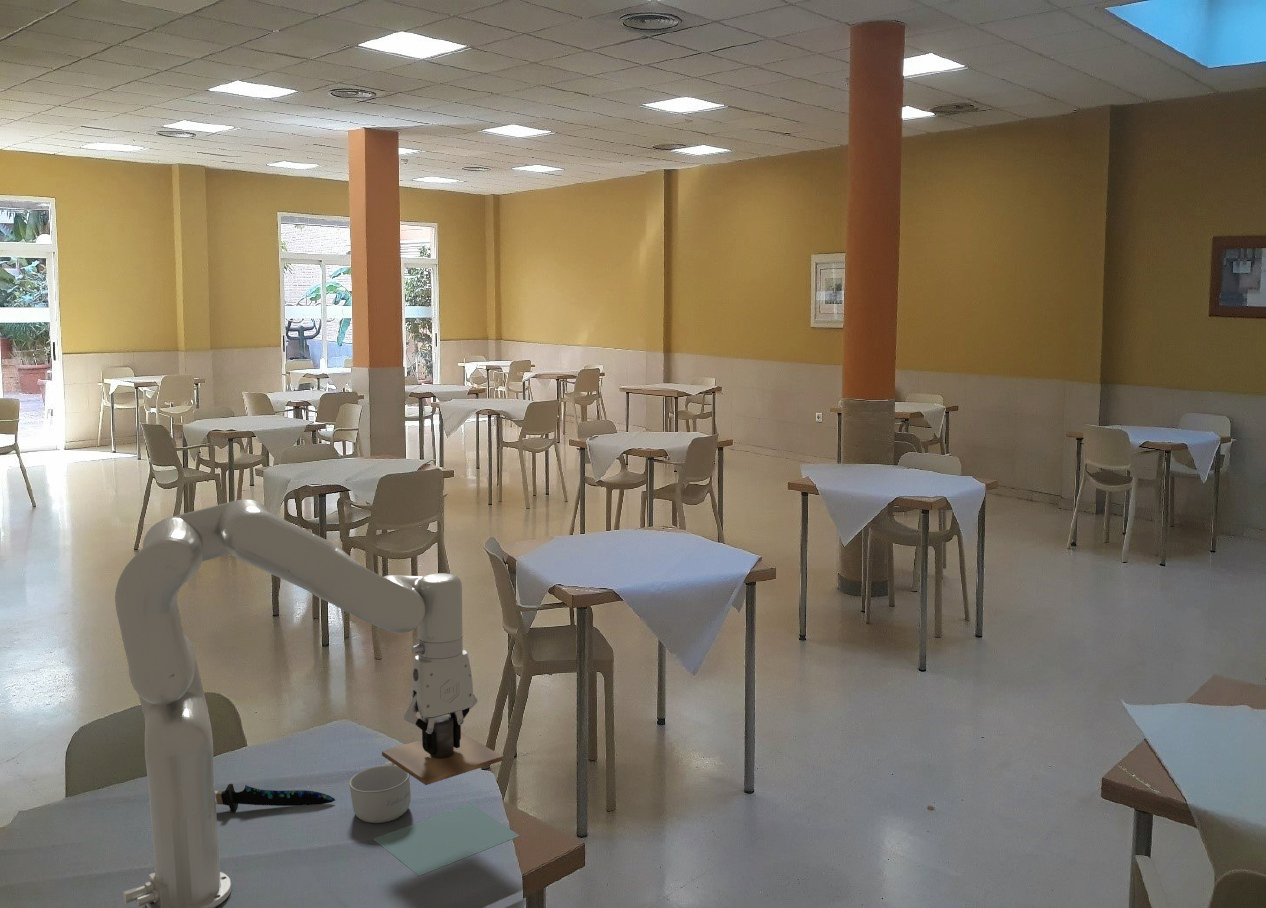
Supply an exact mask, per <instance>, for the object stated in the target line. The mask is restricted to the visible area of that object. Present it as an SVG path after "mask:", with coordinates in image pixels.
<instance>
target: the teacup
mask: <svg viewBox="0 0 1266 908" xmlns="http://www.w3.org/2000/svg"><path fill="white" fill-rule="evenodd" d="M410 776H411V775H410V774H408V773H407V772H405V771H404V770H403V769H401V768H400V767H398V766H397V765H395V764H394V763H392V762H391V761H389V760H388V761H386V762H385V763H384V764H383V765H377V766H373V767H368V768H366V769H363V770H360V771H359V772H358V773H356V774H354V775H353V776H351V778H350V779H349V782H348V786H349V788H350V790H349V791H350V796H351V805H352V809H353V812H354V815H355V816H356V817H357V818H358V819H359V820H361V821H363V822H366V823H368V824H369V823H370V824H381V823H382V824H383V823H388V822H392V821H394V820H397V819H398V818H400V817H401V816H403V815H404V813H406V812H407V810H408V809H409V807H410V804H411V795H412V794H411V793H412V792H411V782H410V781H411V780H410Z"/></svg>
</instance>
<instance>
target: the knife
mask: <svg viewBox="0 0 1266 908" xmlns="http://www.w3.org/2000/svg"><path fill="white" fill-rule="evenodd" d="M215 800H216V805H224V806H228V807H229V810H230V812H231V813H236V810H237V809H238V807H239V805H248V806H249V805H250V806H269V807H270V806H274V807H275V806H277V807H280V806H281V807H285V806H286V807H289V806H290V807H292V806H293V807H297V806H300V807H301V806H315V805H317V806H318V805H324V804H330V803H333V802H335V801H336V799H335V798H334V797H333V796H331V795H329V794H325V793H323V792H319V791H314V790H305V789H304V790H303V789H302V790H301V789H300V790H299V789H298V790H297V789H295V790H293V789H292V790H289V789H288V790H275V789H273V790H272V789H270V790H269V789H260V788H256V787H251V786H249V785H247V784H246V785H244V788H243V790H241V791H235V787H234V784H233V783H229V784H228V785H227V786H226V788H225V790H223V791H221V790H215Z"/></svg>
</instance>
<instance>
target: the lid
mask: <svg viewBox="0 0 1266 908" xmlns="http://www.w3.org/2000/svg"><path fill="white" fill-rule="evenodd" d="M433 732H435V733H436V754H435V755H431V754H429V753H427V752H426V751H425V750H424V749H423V746H422V739H419V740H416V741H413V742H408V743H406V744H405V743H404V744H402V745H399V746H394V747H392V748H387V749H385V750H382V751H381V756H382V757H383V758H385V759H387V760H388V761H391V762H392V763H394V765H395V766H398V767H400V768H401V769H403V770H404V771H405V772H407V773H408V774H410V776H411V777H413V778H414V779H416V780H417V781H418V782H420V783H421V784H423V785H424V786H428V785H431V784H434V783H438V782H440V781H443V780H447V779H450V778H452V777H456V776H458V775H462V774H466V773H467V772H468V773H469V772H472V771H475V770H478V769H481V768H484V767H487V766H490V765H494V764H497V763H500V762H503V757H504V756H503V755H501V754H499V753H497V752H496V751H495V750H493V749H491V748H489V747H488V746H486V745H484V744H482V743H480V742H479V741H477V740H475V739H473V738H472V737H470V736H468V735H467V734H464V732H461V740H460V747H459V748H455V747H454V739H453V718H451V717H449V715H448V716H446V715H443V716H439V717H435V721H434V728H433Z"/></svg>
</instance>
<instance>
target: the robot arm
mask: <svg viewBox="0 0 1266 908" xmlns="http://www.w3.org/2000/svg"><path fill="white" fill-rule="evenodd" d="M228 555H231V556H232V557H234V558H236V559H237V560H239V561H241V562H243V563H246V564H248V565H251V566H252V567H255V568H257V569H259V570H261V571H264V572H266V573H268V574H271V575H272V576H275V577H278V578H279V579H282V580H284V581H286V582H288V583H290V584H293V585H295V586H297V587H298V588H300V589H303V590H304V591H305V590H306V591H307V592H309V593H310V594H312V595H314V596H316V597H317V598H319V599H320V600H323V601H325V602H327V603H329V604H331V605H333V606H335V607H337V608H338V609H340V610H342V611H344V612H346V613H348V614H349V615H352V616H354V617H356V618H357V619H360V620H362V621H364V622H366V623H369V624H372V625H373V626H375V627H377V628H380V629H382V630H385V631H387V632H389V633H392V634H405V633H406V634H407V633H410V632H412V631H414V630H415V629H417V639H416V644H415V645H411V653H412V654H413V655H415V656H414V661H413V666H412V672H411V679H410V680H411V683H410V704H409V706H408V708H407V710H406V711H405V713H404V715H403V720H405V721H406V722H407V723H410V724H412V725H414V726H417V728H418V729H419V730H421V740H422V746H423V749H424V750H425V751H426V752H427V753H429V754H431V755H435V754H436V733H435V732H433V728H434V721H435V717H439V716H446V715H448V717H451V718H453V739H454V747H455V748H459V747H460V740H461V733H462V732H461V731H462V729H461V728H462V725H463V724H464V722H465V718H466V717H467V715H468V714H469V712H470V710H471V709H473V708H474V707H475V706H476V705H477V703H478V699H477V697H476V696H475V695H474V686H473V685H474V684H473V676H472V675H473V674H472V668H471V662H470V659H469V655H468V652H467V651H466V650H465V649H464V646H463V645H464V644H463V643H464V641H463V640H464V639H463V637H464V635H463V586H462V581H461V578H460V577H458V576H457V575H455V574H452V573H446V572H445V573H444V572H443V573H441V572H439V573H431V574H427V575H419V576H418V575H404V574H403V575H401V574H387V575H384V576H382V575H380V574H378V573H377V572H374V571H372V570H370V569H369V568H367V567H365V566H364V565H362V564H361V563H359V562H358V561H357V560H355V559H354V558H352V557H351V556H350V555H349V554H348V553H347V552H345V551H344V550H343V549H342V548H340V547H339V546H338V545H336V544H335V543H333V542H332V541H330V540H328V539H325V538H323V537H321V536H319V535H317V534H315V533H313V532H310V531H308V530H306V529H304V528H302V527H300V526H298V525H295V524H294V523H291V522H290V521H288V520H286V519H284V518H281V517H279V516H277V515H275V514H273V513H271V512H270V511H269V509H268V508H267V507H266V505H264V504H263V503H261V502H260V501H258V500H255V499H254V500H253V499H248V498H247V499H235V500H232V501H228V502H225V503H220V504H217V505H214V506H213V505H212V506H209V507H205V508H202V509H198V510H194V511H193V510H192V511H189V512H185V513H181V514H177V515H173V516H170V517H167V518H164V519H161V520H160V521H158V522H156V523H154V525H153V526H151V527H150V528H149V530H147V531H146V535H145V536H144V538H143V542H142V549H140V550H139V551H138V553H137V554H135V556H133V557H132V558H131V560H130V561H129V562H128V563H126V566H125V567H124V568H123V570H122V572H121V574H120V576H119V578H118V580H117V583H116V586H115V592H114V593H115V595H114V602H115V610H116V617H117V620H118V626H119V629H120V630H119V631H120V634H121V640H122V644H123V649H124V652H125V657H126V660H127V666H128V673H129V674H128V675H129V679H130V684H131V685H132V687H133V690H134V691H135V692H136V693H137V695H138V698H139V701H140V705H141V709H142V710H141V711H142V713H143V717H144V722H145V723H144V724H145V727H144V756H145V757H144V759H145V768H146V777H147V786H148V787H147V788H148V789H147V790H148V801H149V812H150V824H151V825H150V826H151V836H152V837H151V838H152V839H151V840H152V849H153V850H152V853H153V854H152V855H153V865H154V872H152V873H149V874H148V877H149V878H148V879H149V880H148V881H146V882H143V885H141V886H138V887H133V888H131V889H128V890H125V891H123V892H122V900H123V903H124V904H125V905H128V904H131V903H134V902H135V903H136V906H137V907H139V908H140V907H142V906H144V905H146V908H216V907H218V906H219V905H221V904H223V902H224V901H225V900H227V898H228V897H229V896H230V894H231V892H232V880H231V878H230V877H229V875H228V874H225V873H224V872H223V871H221V866H220V849H219V835H218V834H219V833H218V820H217V817H218V816H217V815H218V814H217V804H216V800H215V791H216V790H215V789H216V788H215V787H216V786H215V772H214V769H215V768H214V767H215V766H214V741H213V740H214V739H213V732H212V731H213V730H212V724H211V719H210V714H209V707H208V704H207V700H206V694H205V690H204V686H203V683H202V679H201V675H200V670H199V666H198V661H197V658H196V655H195V650H194V646H193V644H192V642H191V640H190V639H189V638H188V636H187V635H186V634H185V633H184V629H183V623H182V618H181V613H180V610H179V605H178V594H179V592H180V590H181V588H182V587H184V585H185V584H186V583H187V582H189V581H190V580H191V579H192V578H193V577H194V576H195V575H196V574H197V573H198V571H199V569H200V567H201V565H202V564H203V562H206V561H210V560H213V559H216V558H220V557H224V556H228ZM417 713H419V715H420V717H418V716H417Z"/></svg>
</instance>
